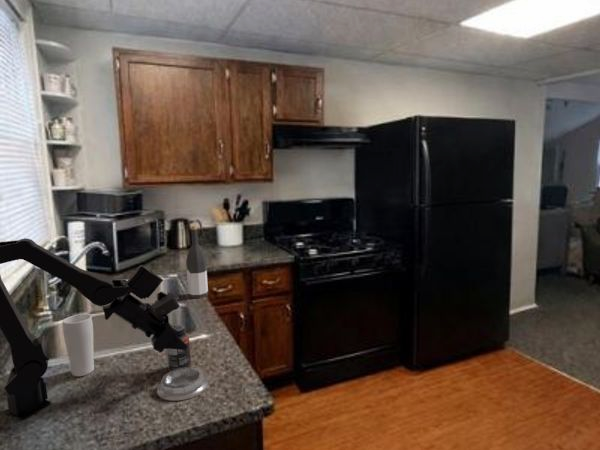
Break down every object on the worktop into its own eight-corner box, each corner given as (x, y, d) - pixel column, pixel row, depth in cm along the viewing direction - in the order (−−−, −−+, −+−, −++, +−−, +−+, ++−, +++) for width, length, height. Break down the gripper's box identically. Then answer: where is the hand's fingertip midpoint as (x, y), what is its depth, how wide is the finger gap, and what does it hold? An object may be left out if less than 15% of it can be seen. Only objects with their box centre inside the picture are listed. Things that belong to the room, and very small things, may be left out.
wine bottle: (209, 296, 163) (205, 226, 159) (189, 299, 160) (184, 227, 156) (206, 291, 170) (202, 223, 166) (187, 294, 167) (182, 225, 163)
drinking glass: (91, 363, 108) (85, 311, 106) (102, 370, 104) (96, 317, 102) (64, 373, 103) (57, 319, 101) (74, 381, 99) (68, 325, 96)
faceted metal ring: (186, 405, 87) (185, 395, 87) (146, 394, 92) (145, 385, 92) (217, 379, 98) (217, 369, 98) (180, 370, 103) (179, 361, 102)
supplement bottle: (180, 360, 108) (177, 321, 107) (196, 365, 105) (193, 325, 104) (163, 370, 103) (160, 329, 102) (178, 375, 100) (175, 334, 99)
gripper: (165, 296, 91) (213, 330, 98) (151, 278, 107) (194, 308, 114) (131, 336, 88) (184, 368, 95) (122, 311, 104) (168, 340, 111)
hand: (183, 343), depth 104 cm, fingers closed on supplement bottle, 6 cm apart
